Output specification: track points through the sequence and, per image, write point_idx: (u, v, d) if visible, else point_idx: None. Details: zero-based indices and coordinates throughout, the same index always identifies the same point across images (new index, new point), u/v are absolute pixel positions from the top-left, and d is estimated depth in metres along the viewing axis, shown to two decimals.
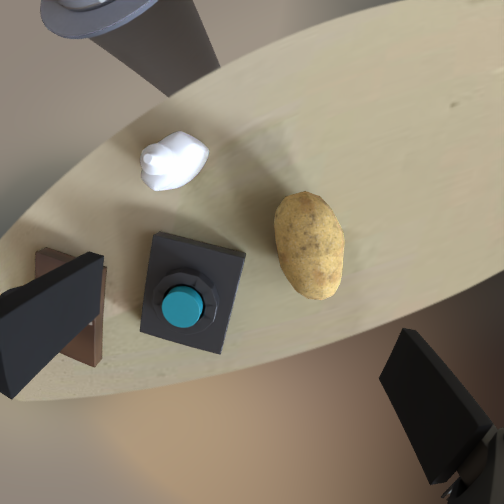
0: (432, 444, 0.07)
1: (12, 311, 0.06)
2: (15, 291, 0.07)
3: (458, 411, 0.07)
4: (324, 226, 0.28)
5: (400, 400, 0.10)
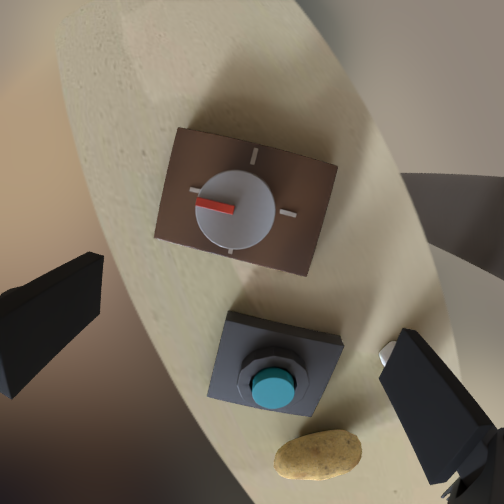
0: (432, 444, 0.07)
1: (12, 311, 0.06)
2: (15, 291, 0.07)
3: (458, 411, 0.07)
4: (339, 474, 0.30)
5: (401, 400, 0.10)
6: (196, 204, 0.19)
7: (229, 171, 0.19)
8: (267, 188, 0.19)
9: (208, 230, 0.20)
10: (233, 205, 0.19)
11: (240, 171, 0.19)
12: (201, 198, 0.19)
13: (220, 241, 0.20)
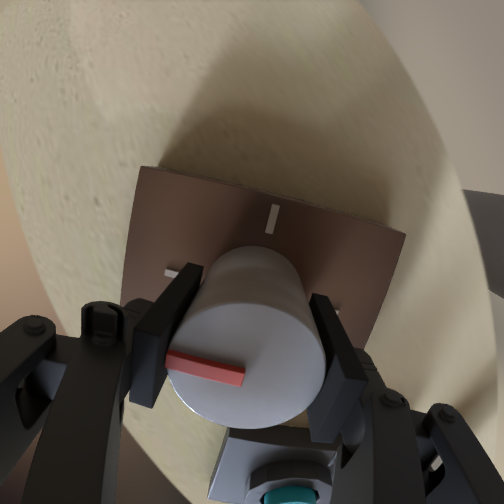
0: (316, 399, 0.09)
1: (167, 324, 0.08)
2: (154, 304, 0.09)
3: (334, 364, 0.09)
4: None
5: None
6: (166, 366, 0.09)
7: (232, 304, 0.09)
8: (313, 337, 0.09)
9: (195, 402, 0.09)
10: (242, 369, 0.09)
11: (257, 305, 0.09)
12: (175, 355, 0.09)
13: (219, 418, 0.10)
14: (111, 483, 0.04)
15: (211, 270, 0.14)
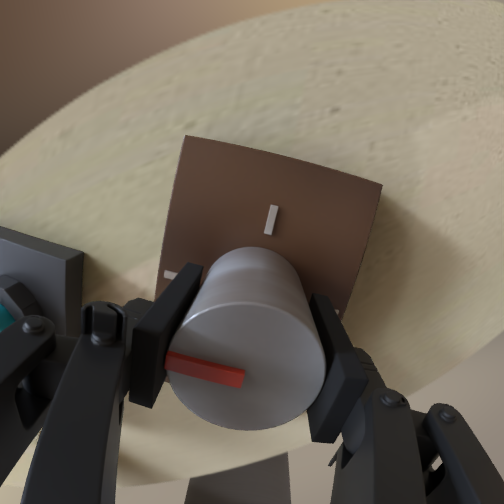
0: (316, 399, 0.09)
1: (167, 324, 0.08)
2: (154, 305, 0.09)
3: (334, 364, 0.09)
4: None
5: None
6: (166, 367, 0.09)
7: (232, 305, 0.09)
8: (313, 339, 0.09)
9: (194, 404, 0.09)
10: (242, 371, 0.09)
11: (256, 306, 0.09)
12: (175, 357, 0.09)
13: (218, 420, 0.10)
14: (111, 483, 0.04)
15: (211, 271, 0.14)
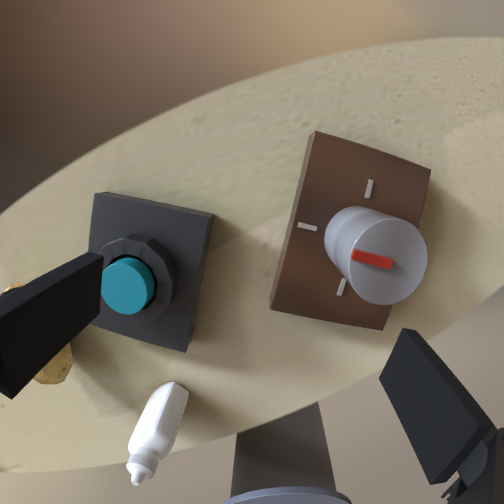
0: (432, 444, 0.07)
1: (12, 311, 0.06)
2: (15, 291, 0.07)
3: (458, 411, 0.07)
4: None
5: (400, 400, 0.10)
6: (353, 258, 0.16)
7: (388, 220, 0.16)
8: (423, 239, 0.16)
9: (361, 286, 0.16)
10: (391, 258, 0.16)
11: (399, 220, 0.16)
12: (358, 251, 0.16)
13: (372, 297, 0.17)
14: None
15: (341, 218, 0.21)
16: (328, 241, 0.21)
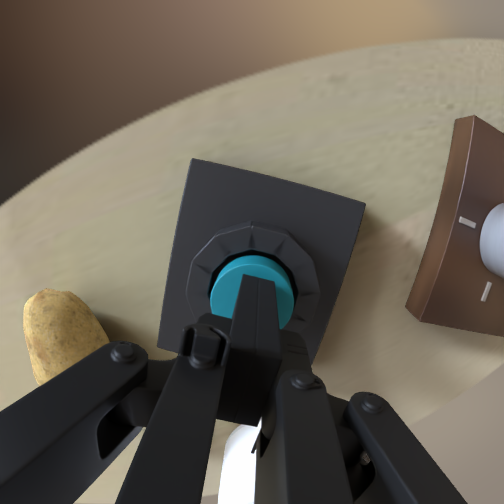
0: None
1: (255, 341, 0.09)
2: (235, 321, 0.10)
3: None
4: None
5: None
6: None
7: None
8: None
9: None
10: None
11: None
12: None
13: None
14: None
15: None
16: (493, 240, 0.15)
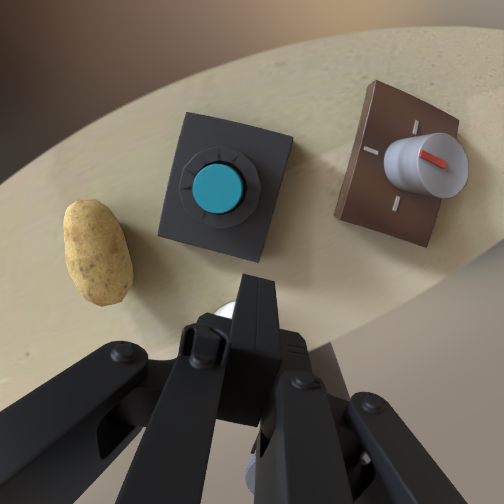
0: None
1: (255, 341, 0.09)
2: (235, 321, 0.10)
3: None
4: (79, 284, 0.27)
5: None
6: (421, 155, 0.19)
7: (441, 133, 0.19)
8: (464, 152, 0.19)
9: (426, 179, 0.20)
10: (445, 161, 0.19)
11: (449, 135, 0.19)
12: (424, 151, 0.19)
13: (433, 190, 0.20)
14: None
15: (399, 142, 0.24)
16: (389, 160, 0.25)
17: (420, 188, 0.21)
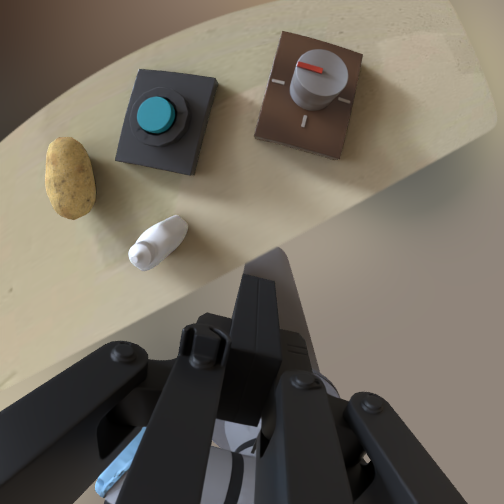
0: None
1: (256, 341, 0.09)
2: (235, 321, 0.10)
3: None
4: (53, 199, 0.32)
5: None
6: (297, 65, 0.25)
7: (318, 49, 0.25)
8: (342, 61, 0.25)
9: (305, 82, 0.25)
10: (321, 68, 0.25)
11: (325, 50, 0.24)
12: (300, 62, 0.25)
13: (313, 90, 0.26)
14: None
15: None
16: None
17: (305, 92, 0.27)
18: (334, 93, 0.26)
